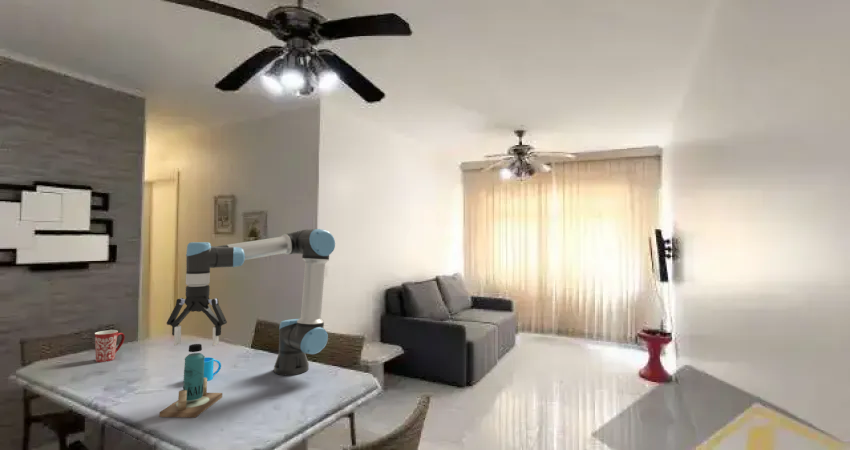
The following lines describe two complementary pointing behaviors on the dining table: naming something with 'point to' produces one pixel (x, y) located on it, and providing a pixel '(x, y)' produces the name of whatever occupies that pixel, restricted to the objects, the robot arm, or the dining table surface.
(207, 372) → the mug
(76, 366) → the dining table surface
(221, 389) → the dining table surface
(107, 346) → the mug
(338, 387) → the dining table surface
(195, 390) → the beverage bottle
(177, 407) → the wooden board with pegs
